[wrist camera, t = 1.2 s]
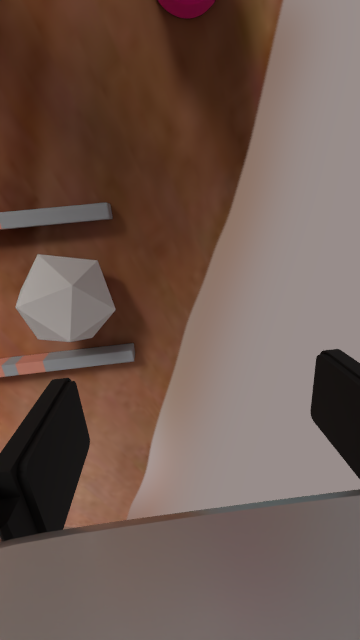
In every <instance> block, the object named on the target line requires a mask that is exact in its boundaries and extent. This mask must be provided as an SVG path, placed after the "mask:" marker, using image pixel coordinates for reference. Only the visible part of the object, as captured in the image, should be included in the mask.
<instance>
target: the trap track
mask: <svg viewBox="0 0 360 640" xmlns="http://www.w3.org/2000/svg"><path fill="white" fill-rule="evenodd" d="M108 219H113V217H112V211H111V205H110V204H109V203H96V204H85V205H75V206H64V207H53V208H42V209H31V210H21V211H10V212H0V230H3V229H14V228H24V227H35V226H45V225H56V224H66V223H77V222H87V221H97V220H108ZM134 358H135V348H134V343H129V344H121V345H112V346H103V347H95V348H86V349H78V350H69V351H60V352H52V353H43V354H34V355H26V356H17V357H8V358H0V377H6V376H14V375H23V374H31V373H40V372H48V371H56V370H65V369H73V368H82V367H90V366H99V365H107V364H115V363H124V362H132V361H134Z"/></svg>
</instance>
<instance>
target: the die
mask: <svg viewBox="0 0 360 640" xmlns="http://www.w3.org/2000/svg"><path fill="white" fill-rule="evenodd" d="M16 309H17V310H18V312H19V313H20V314H21V316H22V317H23V319H24V320H25V321H26V323H27V324H28V326H29V327H30V328H31V330H32V331H33V333H34V334H35V335H36V337H37V338H38V339H41V340H52V341H64V342H73V341H78V340H83V339H89V338H93V336H94V335H95V334H96V333H97V332H98V330H99V329H100V328H101V327H102V326H103V324H104V323H105V322H106V321H107V320H108V318H109V317H110V316H111V315H112V314H113V312H114V311H115V310H116V309H115V306H114V304H113V301H112V298H111V295H110V293H109V290H108V287H107V285H106V282H105V279H104V277H103V274H102V271H101V268H100V266H99V263H98V260H88V259H79V258H69V257H59V256H50V255H40V254H38V255H37V257H36V259H35V261H34V263H33V265H32V267H31V270H30V272H29V274H28V276H27V278H26V280H25V282H24V284H23V286H22V288H21V290H20V294H19V297H18V301H17V304H16Z"/></svg>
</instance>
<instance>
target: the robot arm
mask: <svg viewBox="0 0 360 640" xmlns="http://www.w3.org/2000/svg"><path fill="white" fill-rule="evenodd" d="M311 416H312V419H313V421H314V422H315V424H316V425H317V426H318V427H319V428H320V430H321V431H322V432H323V433H324V435H325V436H326V437H327V439H328V440H329V441H330V442H331V444H332V445H333V446H334V447H335V449H336V450H337V451H338V452H339V453H340V455H341V456H342V457H343V459H344V460H345V461H346V462H347V464H348V465H349V466H350V468H351V469H352V470H353V471H354V472H355V474H356V475H357V476H358V478H359V479H360V363H359V362H357V361H356V360H354V359H353V358H351V357H350V356H348V355H347V354H345V353H344V352H342V351H341V350H339V349H334V350H326V351H322V352H321V353H320V355H318V356H317V359H316V366H315V376H314V385H313V394H312V404H311ZM89 445H90V438H89V434H88V430H87V425H86V421H85V417H84V413H83V409H82V405H81V401H80V397H79V393H78V389H77V385H76V383H75V381H71V380H70V379H69V378H63V379H54V380H52V381H51V382H50V383H49V385H48V386H47V388H46V389H45V390H44V392H43V393H42V395H41V396H40V398H39V399H38V400H37V402H36V403H35V405H34V406H33V407H32V409H31V410H30V412H29V413H28V415H27V416H26V417H25V419H24V420H23V422H22V423H21V425H20V426H19V427H18V429H17V430H16V432H15V433H14V435H13V436H12V437H11V439H10V440H9V442H8V443H7V444H6V446H5V447H4V449H3V450H2V452H1V453H0V640H360V490H351V491H343V492H336V493H328V494H320V495H311V496H303V497H296V498H288V499H280V500H273V501H266V502H258V503H250V504H243V505H234V506H227V507H220V508H212V509H205V510H197V511H189V512H182V513H175V514H168V515H160V516H153V517H147V518H140V519H132V520H124V521H117V522H110V523H103V524H96V525H90V526H83V527H77V528H71V529H64V530H63V528H64V525H65V522H66V518H67V515H68V512H69V509H70V506H71V503H72V500H73V496H74V493H75V490H76V487H77V484H78V481H79V478H80V475H81V471H82V468H83V465H84V462H85V459H86V456H87V453H88V449H89Z"/></svg>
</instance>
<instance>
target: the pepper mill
mask: <svg viewBox="0 0 360 640" xmlns="http://www.w3.org/2000/svg"><path fill="white" fill-rule="evenodd" d="M158 2H159V3H160V4H161V5H162V7H163V8H164V9H165V10H167V11H168V12H169V13H171V14H172V15H175V16H177V17H179V18H195V17H197V16H200V15H202V14H203V13H205V12H206V11H207V10H208V9H209V8H210V7H211V6H212V5H213V3H214V2H215V0H158Z"/></svg>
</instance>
